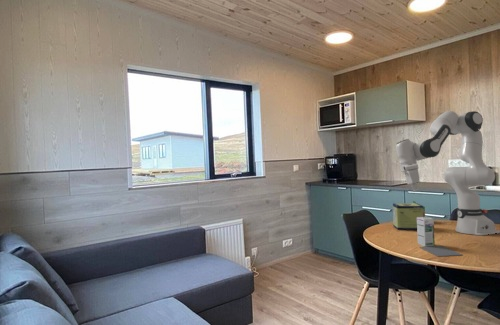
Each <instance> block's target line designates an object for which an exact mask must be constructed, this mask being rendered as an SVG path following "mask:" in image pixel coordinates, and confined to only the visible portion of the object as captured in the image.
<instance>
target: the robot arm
mask: <svg viewBox="0 0 500 325" xmlns="http://www.w3.org/2000/svg"><path fill="white" fill-rule="evenodd" d="M483 121H484V119H483V116H482V114H481V113H479V111H476V110H474V111H468V112H465V113H462V114H457V112H455V111H453V110H446V111H444V112H443V113H441V114H440V115H438V117H436V119H434V121H432V123H431V124H430V127H429V133H431V135H432V137H431V138H429V139H428V138H427V139H426V140H424V141H420V142H417V143H416V142H413V141H411V139H409V138H406V139H403V140H400V141H397V142H396V144H395V151H396V155H397V158H398V159H399V161H398V162H399V167H400V171H401V172H402V173H403V174H404V177H405V182H406V184H407V185H410V186H411V189H412V191H413V192H418V186H417V183H420V175H419V165H418V162H419V161H422V160H425V159H430V158H435V157H437V156H438V155H439V154H440V152H441V148H442V146H443V144H444V143H445V141H446V140H447V138H448V137H449V136H455V135H459V134H461V140H460V146H459V158H460V160H461V161H463V162H465V163H466V164H469V166H452V167H448V168H446V169H445V171H444V172H443V179H444V181H445V183H447V184H448V185H450V186H451V187H452V188H453V190H454V191H455V193H456V200H457V208H456V214H457V222H456V225H455V226H456V227H455V229H454V230H455V231H456V232H457V233H461V234H465V235H466V234H467V235H475V236H487V235H488V234H489V235H496V234H495V233H497V234H500V230H499V229H497V228H496V224H495V222H494V221H493V220H492V219H490V218H489V217H487V216H486V215H485V214H487V213H488V209H484V208H483V209H482V208H481V196H480V195H479V193H477V192H475V191H473V190H471V189H470V188H469V186H474V187H475V186H477V187H479V186H480V187H481V186H489V185H492V184H493V183H494V181H495V179H496V174H495V172H494V170H493V169H492V168H491V167H489V166H488V165H486V164H485V162H484V160H483V146H484V144H483V142H484V141H483V133H482V132H481V131H480V130H481V129H482V125H483ZM417 161H418V162H417Z"/></svg>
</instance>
